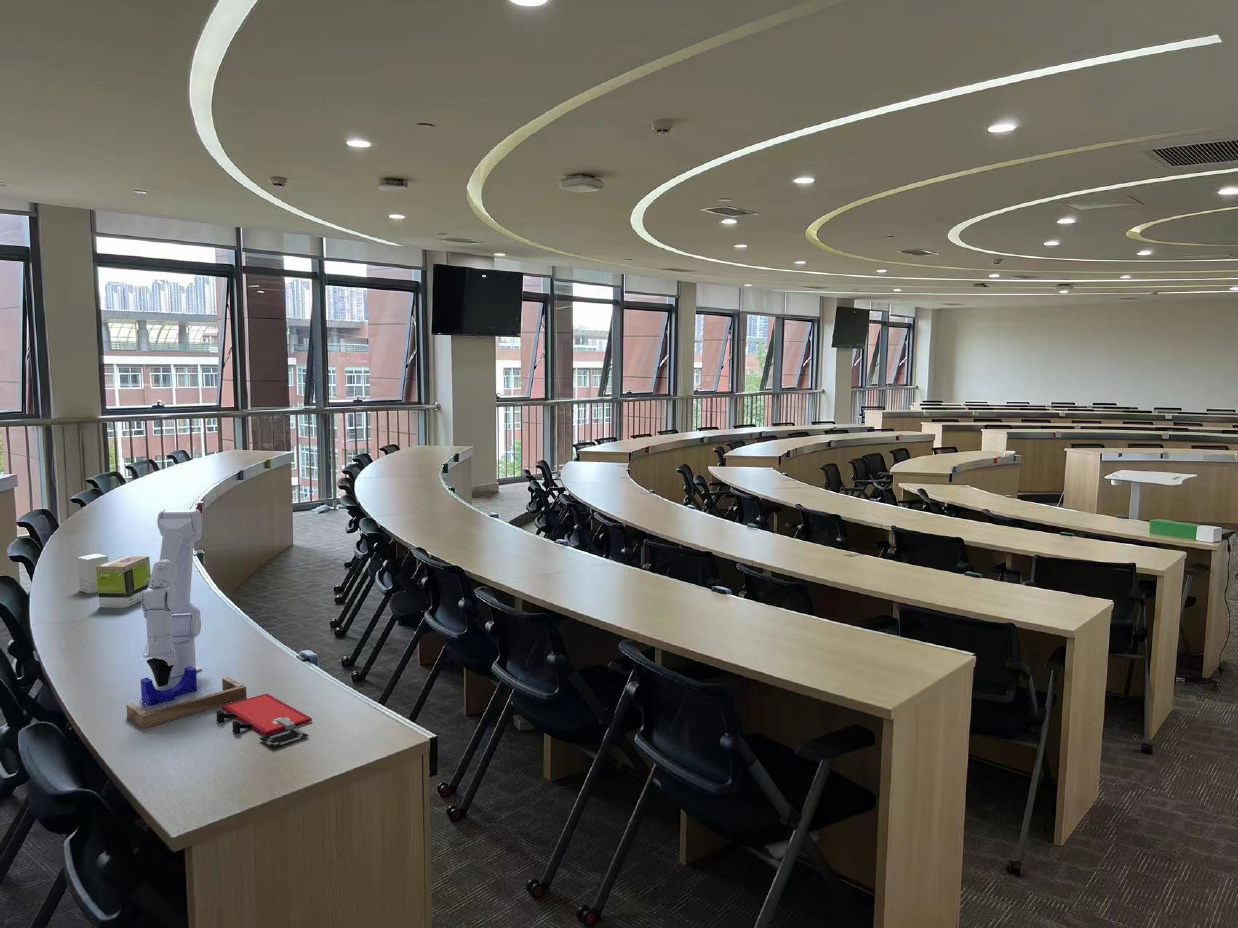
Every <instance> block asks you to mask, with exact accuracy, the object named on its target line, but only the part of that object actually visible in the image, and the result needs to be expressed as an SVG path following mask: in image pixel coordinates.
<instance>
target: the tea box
mask: <svg viewBox="0 0 1238 928" xmlns="http://www.w3.org/2000/svg"><path fill="white" fill-rule="evenodd" d="M150 563H151V562H150V556H149V555H148V556H145V555H144V556H131V555H130V556H126V555H125V556H124V555H122V556H120V557H117V558H114V559H112V560H108V562H106V563H104V564H101V565H99V566H96V572H97V584H98V592H97V594H98V607H99V608H107V609H109V608H114V609H115V608H116V609H127V608H129V607H131V606H133V605H135V604H137V603H139V602H141V597H142V593H143V591H144V590H147V589H148V586H149V582H150V578H151V574H152V571H151V564H150Z"/></svg>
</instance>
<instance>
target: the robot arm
mask: <svg viewBox="0 0 1238 928" xmlns="http://www.w3.org/2000/svg"><path fill="white" fill-rule="evenodd" d="M156 521H157V528H158V531H159V533H160V536H161V537H162V541H161V548H160V553H159V554H160V555H159V560H158V561H157V562H154V564H153V565H152V568H151V578H150V582H149V586H148V589H147V590H144V591H143V593H142V597H141V601H140V606H141V609H142V613H143V618H144V619H145V620H146V622H145V623H146V636H147V637H146V638H147V643H146V644H145V646H144V648H145V652H144V653H143V654H142V657H143V658H145V659H146V664H147V665H148V666H149V667H150V670H151V672H152V674H153V677H154V681H155V683H156V686H157V687H158V688H162V687H166V686H168V685H169V682H170V678H176V677H180V676H183V674H184V670H185V667H189V666H192V667H193V668H195V669H196V672H198V671H199V672H200V671H202V670H203V668H202V667H200V666H199V665H197V664H196V663H197V662H196V660H197V659H196V641H195V640H196V639H195V638H197V637H198V636H199V635H200V633H201V629H202V619H201V611H200V609H199V607H197V606H196V605H194V604H193V603H191V589H192V576H193V575H192V573H193V561H194V549H195V548H194V547H195V543H196V542H198V541H200V540H201V538H202V534H203V532H202V531H203V515H202V512H201V511H200V509H198V508H195V509H194V508H193V509H161V510H160V512H158V514H157V520H156Z"/></svg>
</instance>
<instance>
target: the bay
mask: <svg viewBox="0 0 1238 928" xmlns="http://www.w3.org/2000/svg"><path fill="white" fill-rule="evenodd" d="M221 679H222V681H221V682H222V683H221V684H222V690H220V691H218V692H214V693H211V694H207V695H204V696H201V697H200V696H199V697H196V698H193V699H189V700H186V701H183V702H178V703H176V704H173V705H169V706H166V707H162V708H158V709H154V710H151V711H146V710H144V709H143V708H142V707H140V706H138V705H137V704H135V702H132V703H128V704H126V717H127V718H128V719H130V720H131V721H132V722H133V723H135V724H136V725H138V726H139V727H140V728H141V729H144V730H145V729H149V728H151V727H155V726H158V725H161V724H164V723H167V722H170V721H171V722H172V721H174V720H177V719H181V718H185V717H188V716H191V715H194V714H198V713H201V712H204V711H207V710H211V708H212V709H215V708H218V707H221V706H220V705H222V706H223V705H226V704H227V703H228V704H230V702H232V703H234V702H237V701H241V700H245V699H248V698H247V686H246V685H244V684H243V683H240V682H238V681H236V680H235V679H233V678H231V677H229V676H225V677H222V678H221Z"/></svg>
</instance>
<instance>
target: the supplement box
mask: <svg viewBox="0 0 1238 928" xmlns="http://www.w3.org/2000/svg"><path fill="white" fill-rule="evenodd" d="M76 559H77V574H78V575H77V576H78V584H79V585H78V587H79V588H78V589H79V591H80V592H84V593H87V594H93V593H98V584H97V572H96V566H99V565H101V564H104V563H106V562H109V556H108V555H104V554H101V553H93V554H92V553H91V554H89V555H87V554H86V555H83V556H78V557H77V558H76Z"/></svg>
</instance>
